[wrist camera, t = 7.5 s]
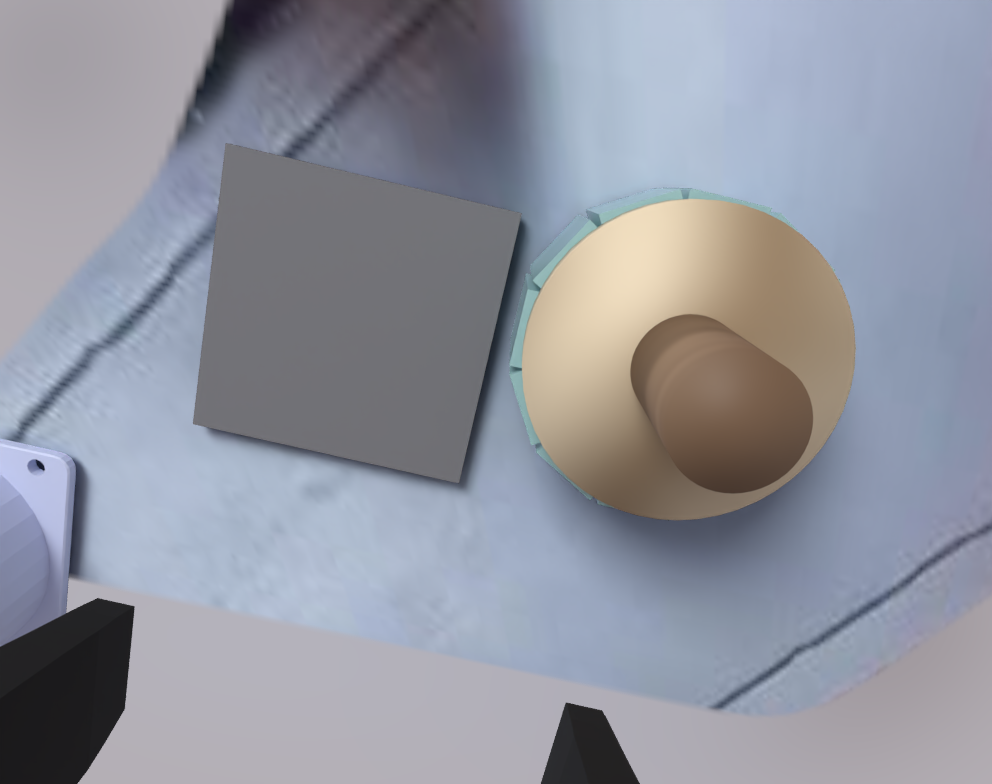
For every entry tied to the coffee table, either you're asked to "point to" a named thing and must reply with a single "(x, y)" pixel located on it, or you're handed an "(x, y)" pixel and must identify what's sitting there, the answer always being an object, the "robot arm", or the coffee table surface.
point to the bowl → (556, 253)
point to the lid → (687, 358)
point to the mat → (349, 313)
